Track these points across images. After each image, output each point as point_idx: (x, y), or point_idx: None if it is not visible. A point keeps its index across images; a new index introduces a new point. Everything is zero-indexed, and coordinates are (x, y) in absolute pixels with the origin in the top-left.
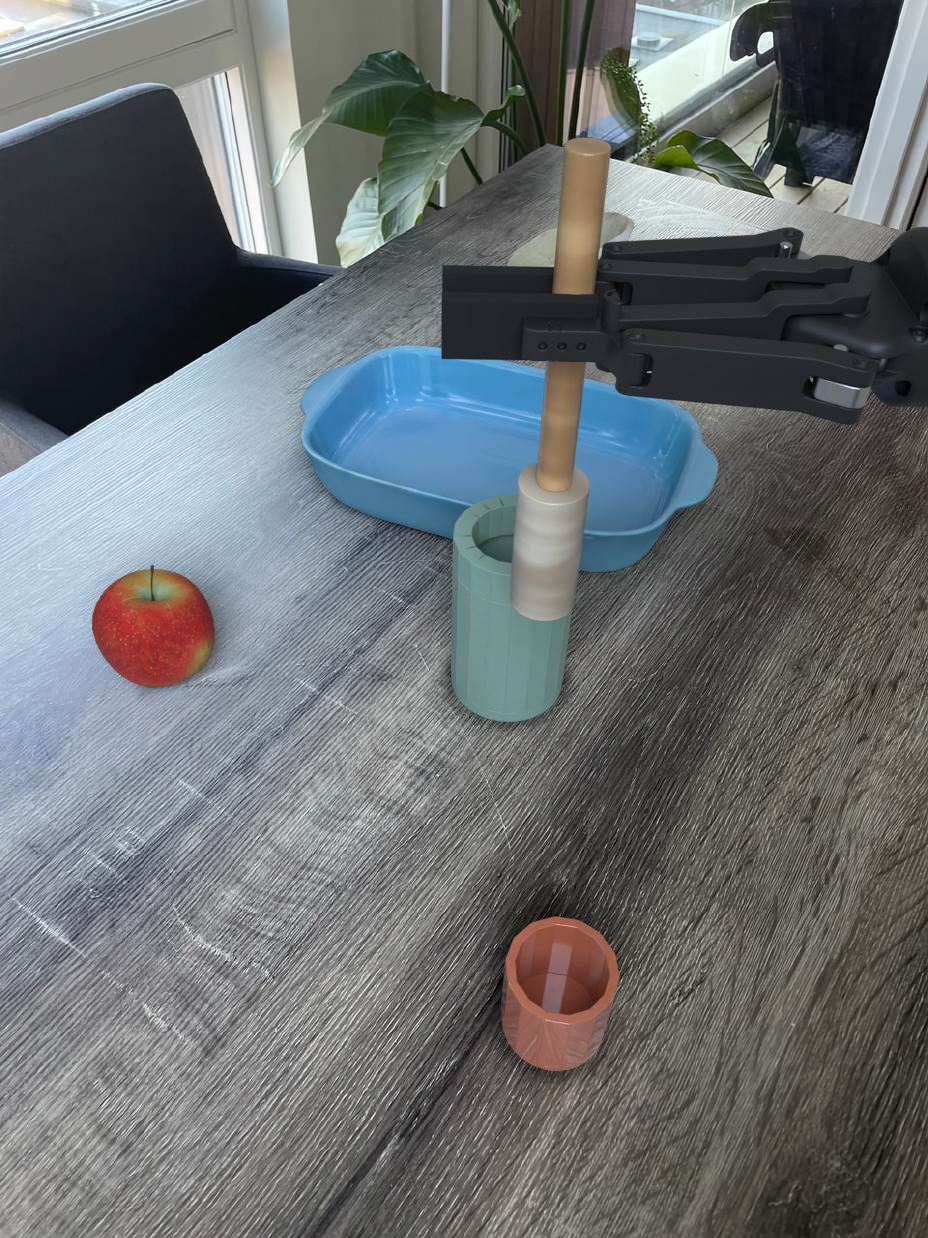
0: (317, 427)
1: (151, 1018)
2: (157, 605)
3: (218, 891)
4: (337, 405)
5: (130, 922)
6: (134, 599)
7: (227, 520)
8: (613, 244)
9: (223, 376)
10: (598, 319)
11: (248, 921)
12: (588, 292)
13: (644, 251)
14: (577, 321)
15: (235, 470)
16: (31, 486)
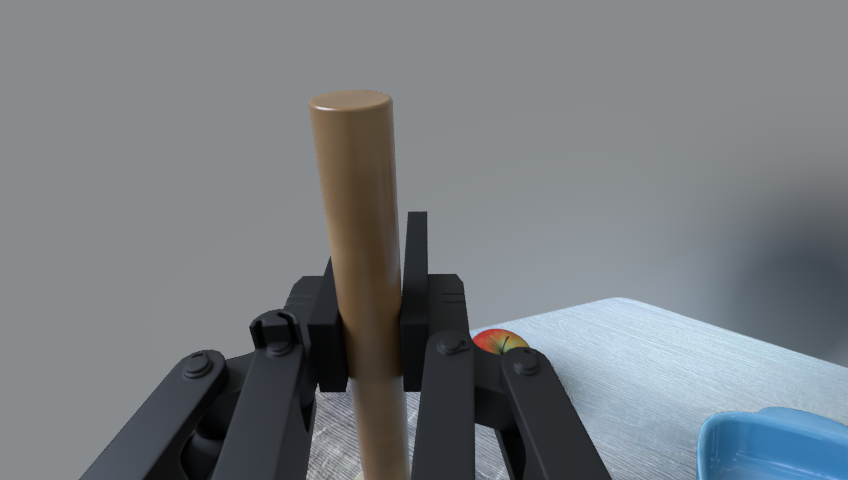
0: (753, 427)
1: None
2: (489, 350)
3: (339, 444)
4: (803, 441)
5: (328, 406)
6: (493, 340)
7: (646, 401)
8: (522, 356)
9: (815, 372)
10: (306, 344)
11: (317, 462)
12: (341, 315)
13: (519, 409)
14: (305, 321)
15: (704, 398)
16: (622, 303)
